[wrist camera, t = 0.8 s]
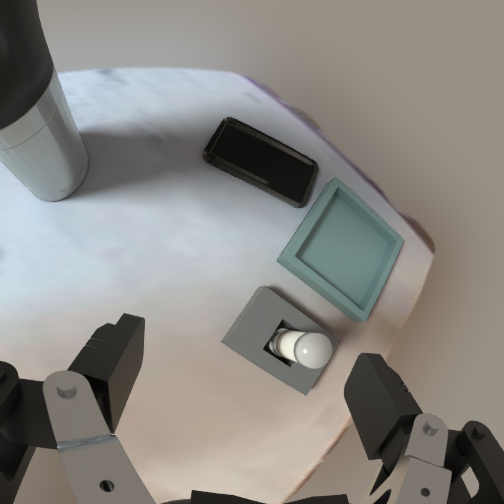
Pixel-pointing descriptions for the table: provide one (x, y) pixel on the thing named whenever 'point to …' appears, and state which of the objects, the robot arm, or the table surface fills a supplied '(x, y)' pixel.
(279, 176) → the phone
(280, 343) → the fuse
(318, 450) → the table surface
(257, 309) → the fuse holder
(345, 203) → the parts tray
